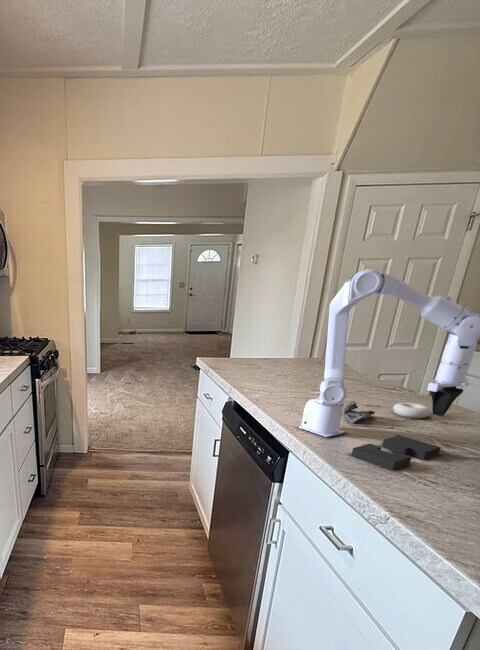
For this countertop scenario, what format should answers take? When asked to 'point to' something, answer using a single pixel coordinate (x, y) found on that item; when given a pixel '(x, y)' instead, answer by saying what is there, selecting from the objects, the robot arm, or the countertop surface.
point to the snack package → (355, 413)
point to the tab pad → (411, 447)
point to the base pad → (381, 456)
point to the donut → (411, 410)
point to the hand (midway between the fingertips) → (438, 414)
